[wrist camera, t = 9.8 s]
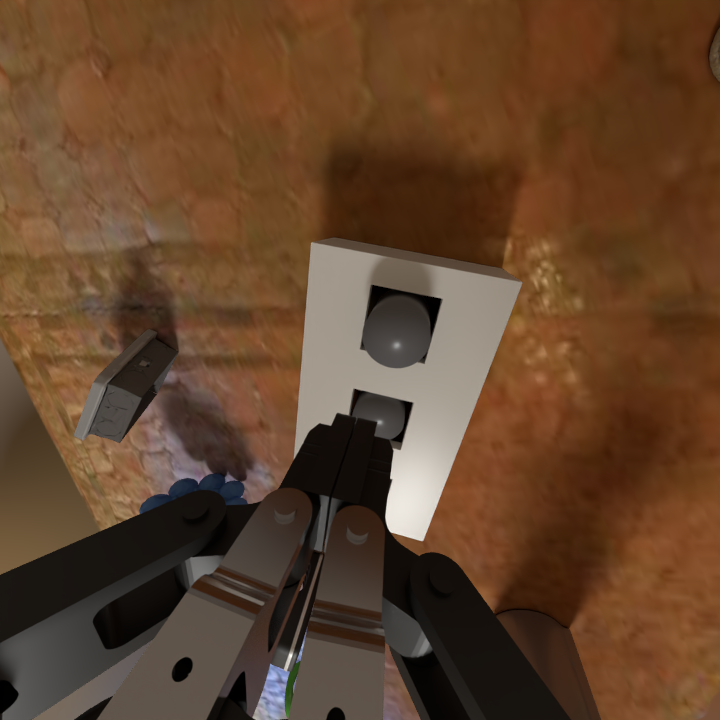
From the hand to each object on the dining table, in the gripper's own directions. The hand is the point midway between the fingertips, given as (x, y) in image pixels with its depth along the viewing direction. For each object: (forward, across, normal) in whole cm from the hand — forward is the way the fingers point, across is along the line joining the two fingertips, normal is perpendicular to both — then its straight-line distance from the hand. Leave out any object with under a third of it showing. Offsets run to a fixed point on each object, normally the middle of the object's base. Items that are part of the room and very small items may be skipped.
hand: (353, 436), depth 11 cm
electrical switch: (+19, +25, +12) cm, 34 cm away
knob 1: (+15, -1, 0) cm, 15 cm away
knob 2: (+17, -1, +8) cm, 19 cm away
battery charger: (+18, +5, +41) cm, 45 cm away
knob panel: (+18, -1, +8) cm, 20 cm away
